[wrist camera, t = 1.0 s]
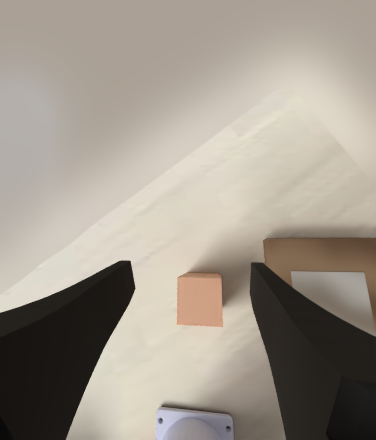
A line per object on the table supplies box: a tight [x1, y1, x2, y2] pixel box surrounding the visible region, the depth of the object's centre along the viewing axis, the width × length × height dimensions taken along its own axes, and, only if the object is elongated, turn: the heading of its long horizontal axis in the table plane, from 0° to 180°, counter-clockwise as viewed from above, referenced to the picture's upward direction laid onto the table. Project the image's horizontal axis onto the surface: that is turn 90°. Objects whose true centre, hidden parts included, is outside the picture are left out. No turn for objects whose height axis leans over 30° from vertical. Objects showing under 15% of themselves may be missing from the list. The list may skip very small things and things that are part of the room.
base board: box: [263, 238, 376, 336], centre depth 19 cm, size 14×11×2 cm
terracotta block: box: [177, 273, 223, 327], centre depth 19 cm, size 4×4×6 cm
